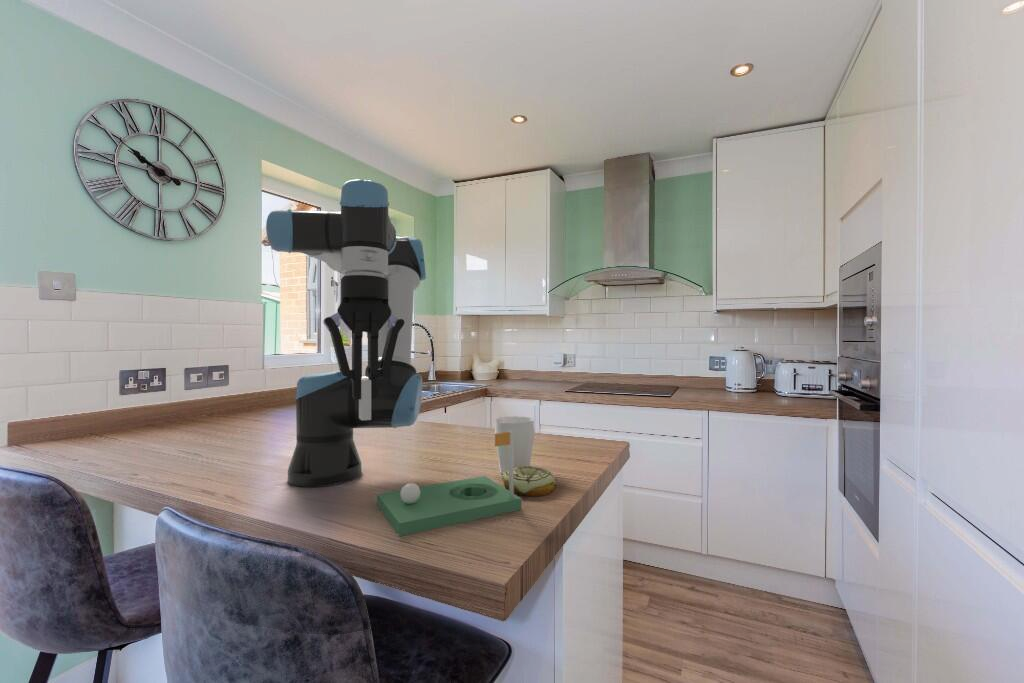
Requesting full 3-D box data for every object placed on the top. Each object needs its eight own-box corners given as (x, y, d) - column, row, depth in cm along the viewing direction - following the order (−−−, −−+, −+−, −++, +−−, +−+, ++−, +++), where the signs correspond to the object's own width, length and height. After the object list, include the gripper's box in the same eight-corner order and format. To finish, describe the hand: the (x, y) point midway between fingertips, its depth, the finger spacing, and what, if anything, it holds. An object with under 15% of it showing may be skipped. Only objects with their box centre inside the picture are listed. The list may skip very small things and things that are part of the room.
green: (377, 504, 83) (376, 428, 83) (484, 485, 94) (484, 418, 94) (399, 536, 70) (399, 446, 70) (521, 509, 81) (521, 431, 81)
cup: (518, 481, 97) (518, 425, 97) (486, 473, 102) (486, 420, 102) (541, 471, 104) (541, 419, 104) (510, 464, 110) (510, 414, 109)
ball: (398, 501, 79) (397, 482, 79) (416, 498, 81) (416, 479, 81) (403, 508, 76) (403, 488, 76) (422, 504, 78) (422, 484, 78)
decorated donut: (525, 503, 85) (525, 483, 85) (492, 487, 93) (492, 469, 93) (565, 491, 91) (565, 472, 91) (531, 477, 100) (531, 460, 100)
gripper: (325, 270, 69) (325, 425, 68) (409, 276, 75) (410, 419, 75) (320, 277, 75) (320, 419, 75) (398, 282, 82) (398, 413, 81)
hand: (364, 418), depth 75 cm, fingers closed
